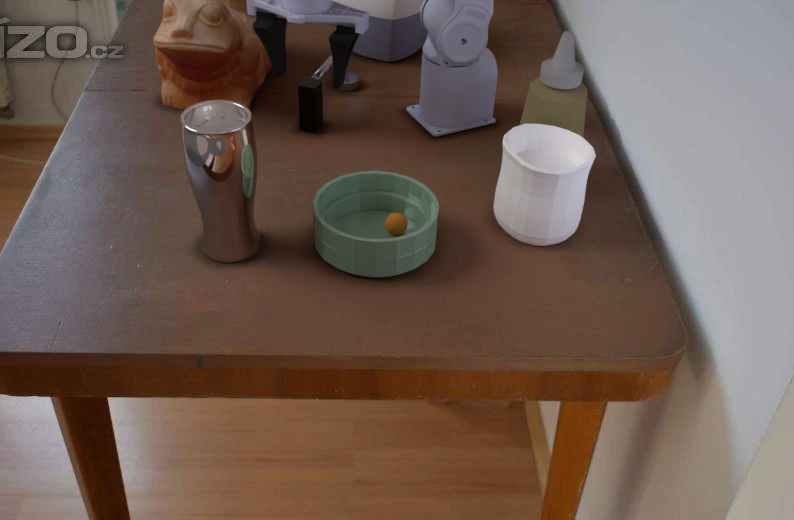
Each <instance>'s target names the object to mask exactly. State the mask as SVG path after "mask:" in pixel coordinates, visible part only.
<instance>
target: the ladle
mask: <svg viewBox="0 0 794 520" xmlns="http://www.w3.org/2000/svg"><path fill="white" fill-rule="evenodd" d="M349 64H350V61H349V62H348V65H347V69H346V74H345V79H344V83H343V85H342V86H341V87H340V88H339V89H337V90H338V91H343V92H352V91H355V90H356V89H358V88H359V85H360V82H359V81H360V77H359V75H358V74H357V73H355V72H351V71H349V70H350V65H349ZM331 68H333V61H332V53H331V54H330V55H329V56H328V58H326V60H325V61H324V62H323V63H322V64H321V65H320V67H319V68H318V69H317V70H316V71H315V72H314V73H313V75H312V76H311V77H303V78H302V79H301V81H300V82H298V84H297V103H298V105H297V106H298V124H299V126H298V127H299V131H301V132H305V133H310V134H316V135H317V134H318V133H319V132H320V130H321V129H322V128H323V127H324V94H323V93H324V92H323V91H324V89H323V80H322V79H323V77H324V76H325V75H326V73H328V71H329V70H330V69H331Z"/></svg>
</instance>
